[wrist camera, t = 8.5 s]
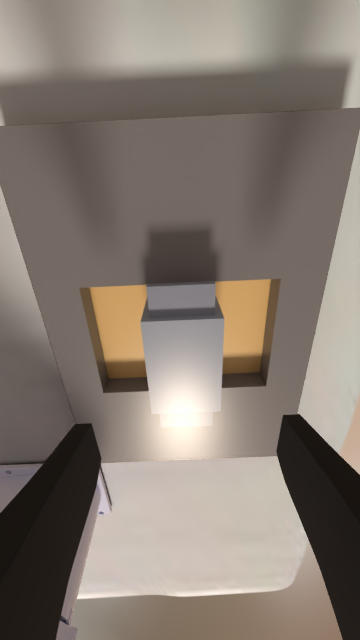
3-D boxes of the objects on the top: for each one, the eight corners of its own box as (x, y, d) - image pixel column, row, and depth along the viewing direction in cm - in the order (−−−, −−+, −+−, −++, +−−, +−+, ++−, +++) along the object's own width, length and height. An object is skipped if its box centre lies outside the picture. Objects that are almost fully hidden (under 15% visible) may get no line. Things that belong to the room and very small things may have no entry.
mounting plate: (94, 443, 22) (88, 463, 21) (7, 135, 12) (-18, 126, 11) (279, 436, 22) (287, 455, 21) (339, 118, 12) (364, 107, 11)
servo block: (158, 388, 19) (154, 433, 16) (145, 266, 15) (136, 290, 12) (211, 386, 19) (219, 430, 16) (213, 263, 15) (225, 286, 11)
